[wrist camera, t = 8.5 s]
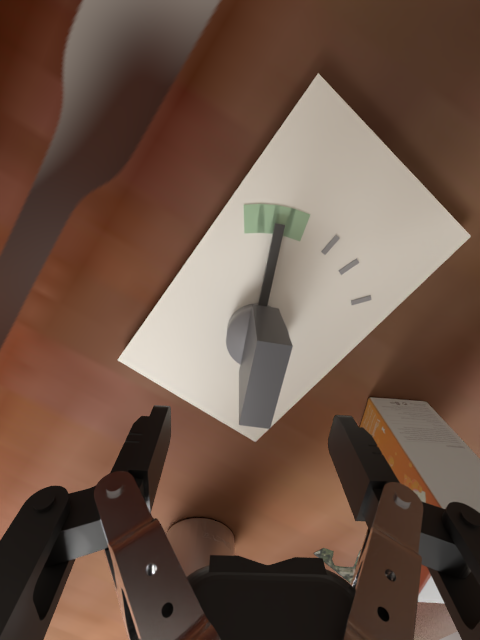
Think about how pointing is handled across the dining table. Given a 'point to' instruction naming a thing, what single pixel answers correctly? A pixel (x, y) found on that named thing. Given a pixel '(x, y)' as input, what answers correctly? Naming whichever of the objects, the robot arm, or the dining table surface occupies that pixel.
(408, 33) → the dining table surface
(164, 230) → the dining table surface
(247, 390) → the tuning knob
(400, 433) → the small box
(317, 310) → the gauge board
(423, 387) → the dining table surface
